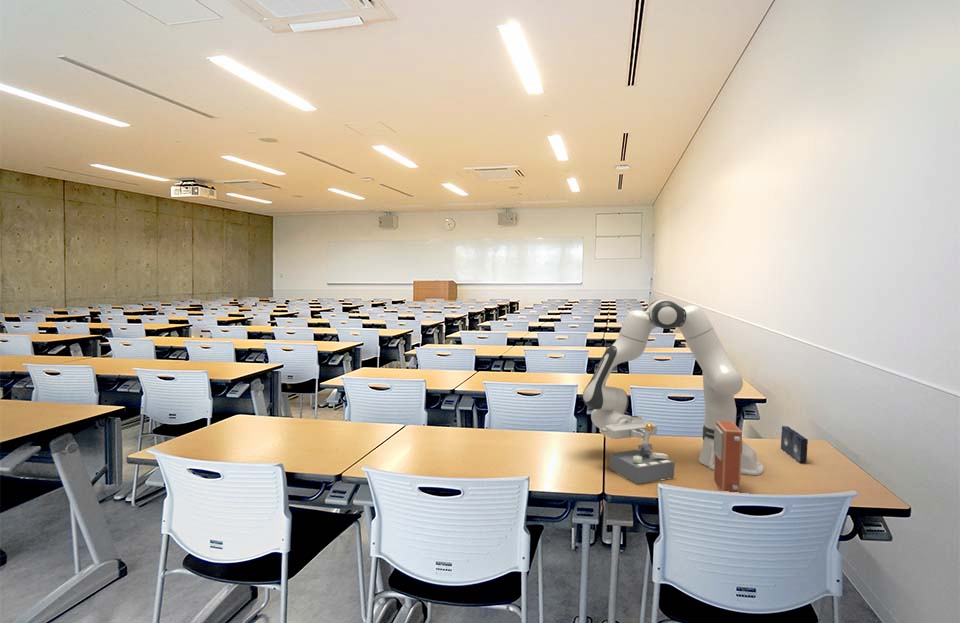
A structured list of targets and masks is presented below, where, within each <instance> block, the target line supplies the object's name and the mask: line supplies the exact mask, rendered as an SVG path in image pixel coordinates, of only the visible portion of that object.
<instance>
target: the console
mask: <svg viewBox="0 0 960 623" xmlns="http://www.w3.org/2000/svg"><path fill="white" fill-rule="evenodd" d="M652 453H654V452H653V451H652V450H647V451H646V452H645V455H644V456H642V455H640V452H639V448H638V449H630V450H625V451H619V452H612V453H611V452H610V453H609V470H610V469H611V470H610V471H612V470H613V471H612V472H614V471H615V472H614V473H616V472H617V473H619V474H620V475H619V474H618V475H619V476H621V475H622V476H621V477H623V476H624V477H623V478H625V477H626V478H627V479H626V478H625V479H626V480H628V479H629V480H628V481H630V480H631V481H630V482H632V483H634V484H635V483H636V485H637V484H639V485H643V484H642V483H645V484H648V483H647V482H650V483H653V482H652V481H656V482H660V481H659V480H661V479H668V478H673V477H674V478H675V461H673V460H671V459H669V458H668V459H663V458H655V457H653V456H652ZM636 455H637V456H641V457H642V463H641V464H636V463H633V456H636ZM617 473H616V474H617ZM674 478H673V479H674ZM668 480H669V479H668Z"/></svg>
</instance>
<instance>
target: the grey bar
mask: <svg viewBox="0 0 960 623" xmlns="http://www.w3.org/2000/svg"><path fill="white" fill-rule="evenodd" d="M641 446H642V444H638V445H637V447H638V449H639V452H640V450H641ZM653 449H654V448H653V445H652V443H648V444H647V448H646V451H647V450H649V451H652V450H653Z"/></svg>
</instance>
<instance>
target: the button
mask: <svg viewBox="0 0 960 623" xmlns="http://www.w3.org/2000/svg"><path fill="white" fill-rule="evenodd" d="M633 463H636V464H641V463H642V457H641V456H637V455H636V456H633Z"/></svg>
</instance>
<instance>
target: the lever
mask: <svg viewBox="0 0 960 623" xmlns="http://www.w3.org/2000/svg"><path fill="white" fill-rule="evenodd" d="M652 430H653V426H652V425H651V424H647V425H646V431H645V435H644V438H642V439H643V440H642V444H641V445H642V446H641V450H640V455H642V456H644V455H645V452H646V448H647V444H649V440H650V437H651V435H650V433H651V431H652Z"/></svg>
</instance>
